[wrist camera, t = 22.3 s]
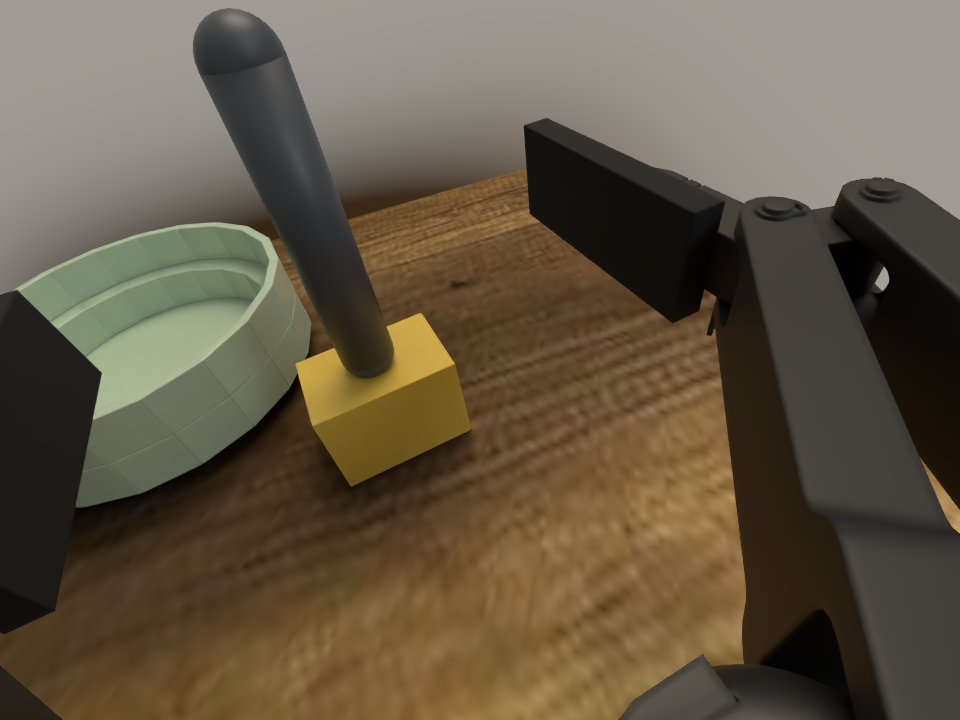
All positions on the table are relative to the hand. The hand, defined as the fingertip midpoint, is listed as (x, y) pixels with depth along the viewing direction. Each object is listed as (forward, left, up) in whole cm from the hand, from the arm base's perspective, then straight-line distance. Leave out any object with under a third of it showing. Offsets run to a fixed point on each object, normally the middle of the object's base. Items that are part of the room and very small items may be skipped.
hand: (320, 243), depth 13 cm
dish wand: (-2, +2, -12) cm, 12 cm away
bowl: (-17, 0, -12) cm, 21 cm away
